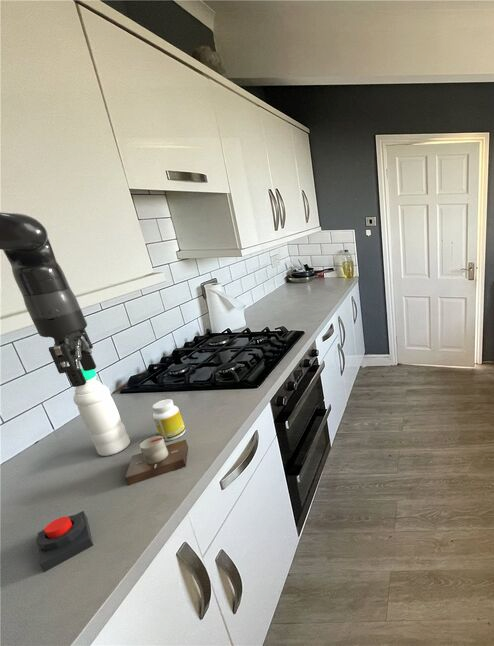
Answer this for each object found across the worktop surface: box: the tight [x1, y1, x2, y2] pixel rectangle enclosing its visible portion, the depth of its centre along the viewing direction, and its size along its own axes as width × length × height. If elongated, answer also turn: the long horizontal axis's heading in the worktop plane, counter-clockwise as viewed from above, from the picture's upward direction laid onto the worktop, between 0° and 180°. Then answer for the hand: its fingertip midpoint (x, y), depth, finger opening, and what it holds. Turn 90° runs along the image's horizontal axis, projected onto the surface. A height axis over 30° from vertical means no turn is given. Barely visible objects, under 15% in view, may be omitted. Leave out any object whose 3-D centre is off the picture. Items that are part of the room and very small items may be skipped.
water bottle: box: [73, 368, 131, 457], centre depth 94 cm, size 7×7×25 cm
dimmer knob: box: [139, 435, 168, 464], centre depth 90 cm, size 5×5×5 cm
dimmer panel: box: [124, 439, 189, 486], centre depth 92 cm, size 12×9×3 cm
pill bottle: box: [152, 398, 187, 442], centre depth 102 cm, size 6×6×11 cm
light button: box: [43, 516, 73, 539], centre depth 70 cm, size 4×4×2 cm
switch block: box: [36, 510, 94, 573], centre depth 71 cm, size 10×7×4 cm
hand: (85, 377), depth 80 cm, fingers open, 8 cm apart
